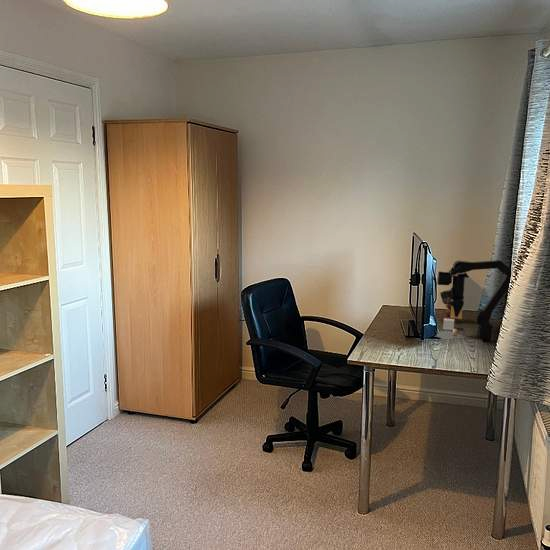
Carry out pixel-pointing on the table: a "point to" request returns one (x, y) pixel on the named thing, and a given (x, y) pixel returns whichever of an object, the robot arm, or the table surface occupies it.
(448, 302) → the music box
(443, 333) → the plate
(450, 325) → the matte ivory cube
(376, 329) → the table surface
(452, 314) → the matte amber box
